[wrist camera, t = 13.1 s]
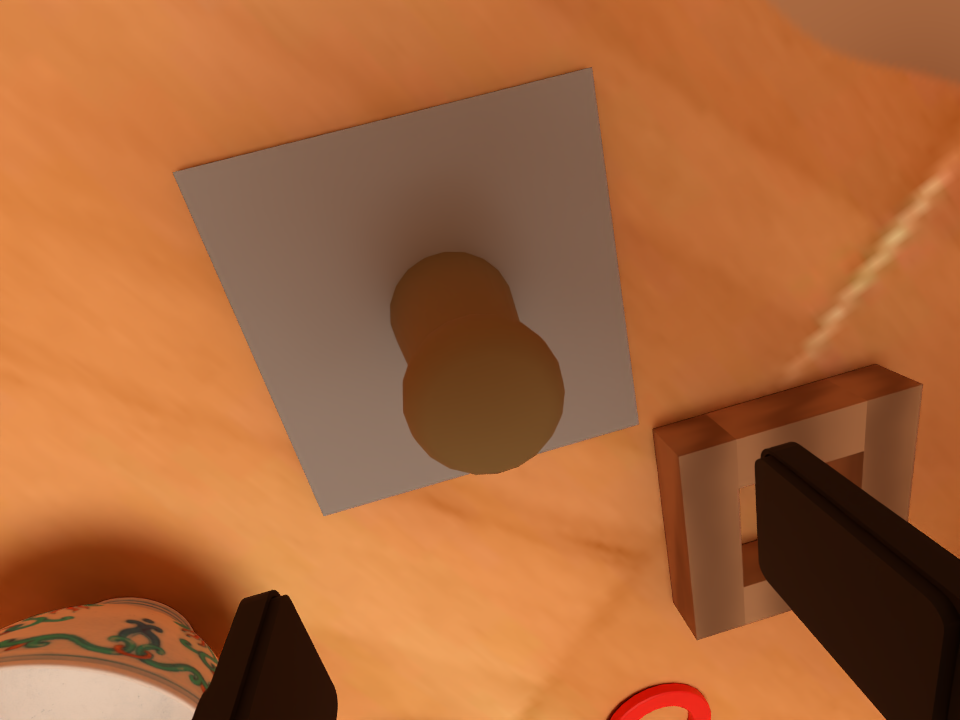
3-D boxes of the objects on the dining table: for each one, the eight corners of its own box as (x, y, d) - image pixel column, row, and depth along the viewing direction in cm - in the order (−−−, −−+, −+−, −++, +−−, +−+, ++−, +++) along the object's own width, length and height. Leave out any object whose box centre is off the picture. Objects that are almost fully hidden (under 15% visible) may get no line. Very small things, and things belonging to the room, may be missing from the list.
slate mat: (587, 69, 23) (591, 67, 23) (634, 419, 30) (639, 424, 30) (178, 171, 22) (172, 172, 22) (324, 509, 29) (323, 516, 29)
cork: (538, 313, 26) (630, 414, 16) (451, 394, 27) (486, 538, 17) (454, 223, 24) (500, 274, 14) (362, 314, 25) (341, 424, 15)
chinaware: (15, 743, 32) (-95, 914, 25) (-55, 540, 26) (-219, 683, 19) (277, 719, 34) (248, 867, 27) (262, 529, 29) (220, 651, 22)
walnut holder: (876, 364, 31) (922, 384, 29) (863, 543, 37) (901, 575, 34) (652, 429, 30) (678, 456, 28) (673, 602, 36) (696, 640, 33)
